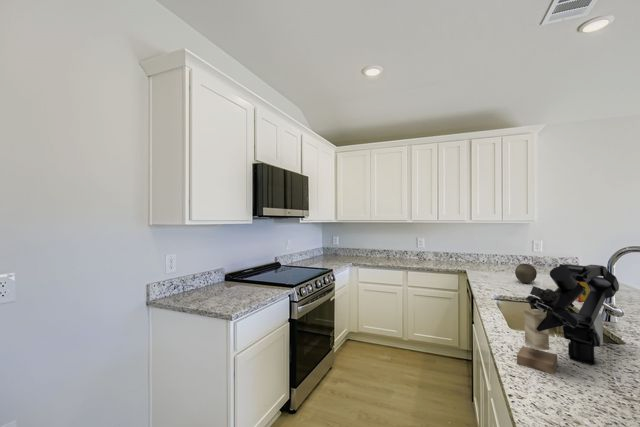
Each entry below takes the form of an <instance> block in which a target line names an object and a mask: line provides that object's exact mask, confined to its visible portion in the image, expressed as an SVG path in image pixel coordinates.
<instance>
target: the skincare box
mask: <svg viewBox="0 0 640 427" xmlns="http://www.w3.org/2000/svg"><path fill="white" fill-rule="evenodd" d="M594 326H595V329H596V331H597V333H598V335H599V337H600V346H604V336H603V335H604V333H603V332H604V331H603V319H602V313H601V312H599V313H598V315H597V317H596V319H595V321H594Z"/></svg>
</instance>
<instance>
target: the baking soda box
mask: <svg viewBox="0 0 640 427" xmlns="http://www.w3.org/2000/svg"><path fill="white" fill-rule="evenodd" d="M578 283H580V284H581V285H582V286H583V287H585V288H586V289H585V291H586V295H582V294H581V295H580V296H579V297H578V298H577V299H576V300H577V302H578V303H582V302H584V301H585V300H586V298H587V296H588V294H589V292H590V290H589V287H588V285H587V283H584V282H578Z"/></svg>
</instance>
